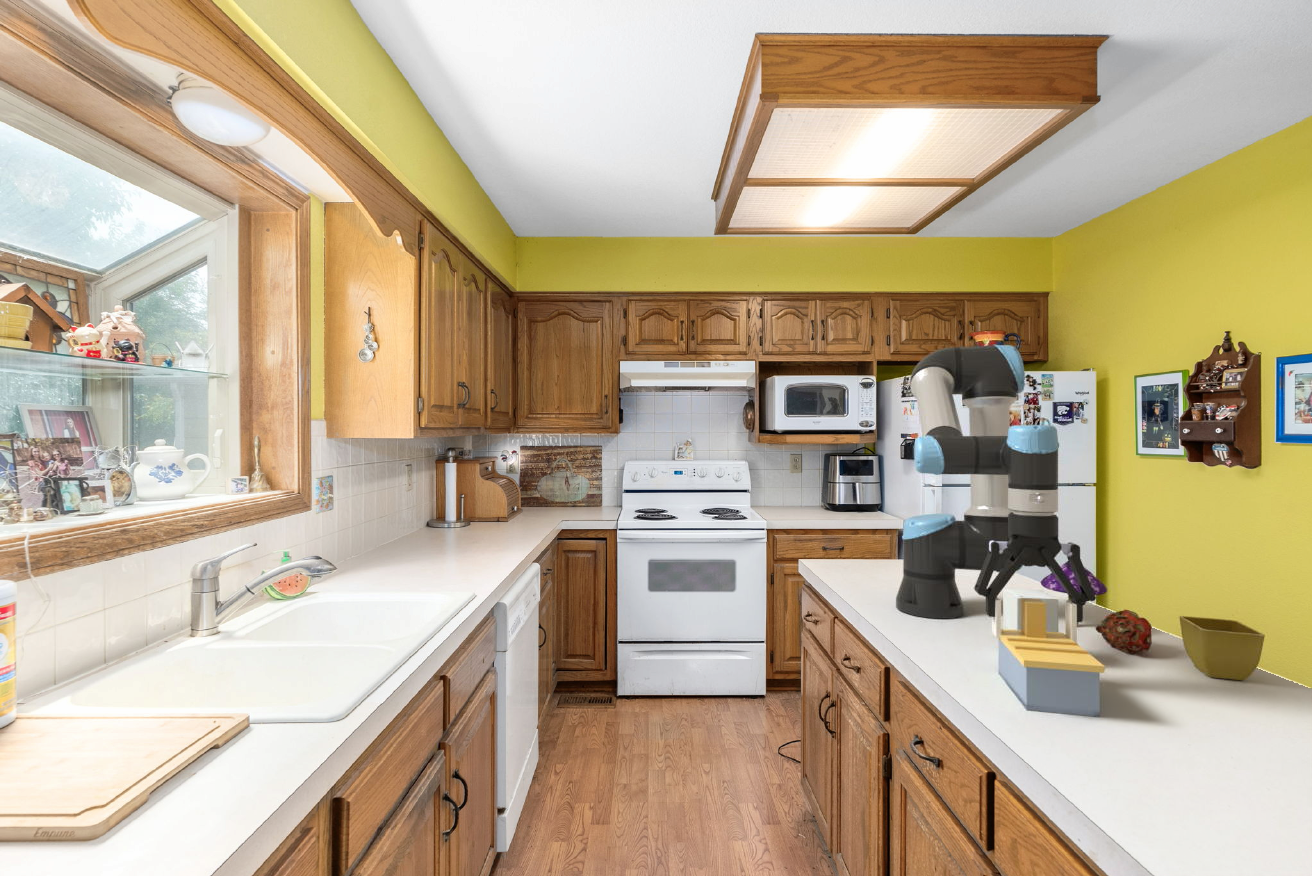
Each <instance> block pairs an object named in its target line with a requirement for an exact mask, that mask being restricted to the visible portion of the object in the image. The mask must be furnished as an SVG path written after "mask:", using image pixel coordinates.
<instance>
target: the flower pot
mask: <svg viewBox="0 0 1312 876" xmlns="http://www.w3.org/2000/svg"><path fill="white" fill-rule="evenodd" d="M1178 617H1179V623H1180V631H1181V638H1182V643H1183V647H1184V649H1185V652H1186V654H1187V655H1188V658H1189V659H1190V661H1191V662H1192V664H1193V665H1194V667H1195V668H1196V669H1198V670H1199V671H1201V672H1202V673H1204V675H1206V676H1208V677H1210V678H1216V679H1217V678H1219V679H1226V680H1227V679H1228V680H1233V681H1234V680H1235V681H1245V680H1247V678H1249V677H1250V676H1251V675H1252V674H1253V673H1254V672H1255V670H1256V669H1257V668H1258V665H1259V663H1260V660H1261V656H1262V651H1263V648H1264V647H1263V646H1264V641H1265V636H1266V635H1265V634H1263V632H1260V631H1258V630H1256V629H1254V628H1252V627H1250V626H1248V625H1246V624H1244V623H1242V622H1240V621H1238V620H1235V619H1224V618H1212V617H1199V616H1198V617H1197V616H1189V615H1188V616H1185V615H1179V616H1178Z"/></svg>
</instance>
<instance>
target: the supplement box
mask: <svg viewBox="0 0 1312 876" xmlns="http://www.w3.org/2000/svg"><path fill="white" fill-rule="evenodd" d="M1021 598H1027V599H1040V600H1041V601H1043V602H1044V603H1045V604H1046V632H1059V598H1057V597H1055V596H1053V595H1051V594H1049V593H1048V592H1046V591H1045V590H1043V589H1026V588H1025V589H1023V588H1022V589H1021V588H1003V589H1002V601H1003V602H1002V608H1003V609H1002V614H1003V617H1002V618H1003V620H1002V621H1003V623H1002V624H1003V625H1002V626H1003V628H1002V629H1013V630H1021Z"/></svg>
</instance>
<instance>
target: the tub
mask: <svg viewBox="0 0 1312 876" xmlns="http://www.w3.org/2000/svg"><path fill="white" fill-rule="evenodd" d="M997 638H998V637H997ZM997 647H998V675H999V676H1000V678H1002V680H1003V681H1004V682H1005V684H1006V685H1007V687H1008V688H1009V689H1010V690H1011V692H1012V693H1013V694H1014V696H1015V698H1017V700H1018V701H1019V702H1020V704H1021V705H1022V706H1023V708H1025V710H1026V711H1033V712H1044V713H1054V714H1055V713H1056V714H1064V715H1065V714H1066V715H1075V716H1085V717H1098V718H1100V717H1101V715H1100V713H1101V711H1100V708H1101V706H1100V705H1101V703H1100V700H1101V699H1100V697H1101V696H1100V694H1101V693H1100V691H1101V690H1100V688H1101V687H1100V684H1101V683H1100V676H1101V675H1100V674H1101V673H1100V672H1087V671H1074V670H1061V669H1048V668H1036V667H1024V666H1023V665H1022V664H1021V663H1020V662H1019V661H1018V659H1017V658H1016V657H1015V656H1014V655H1013V654H1012V653H1011V652H1010V650H1009V649H1008V648H1007V647H1006V646H1005V645H1004V644H1003V643H1002V642H1001V640H1000V639H999V638H998V646H997Z"/></svg>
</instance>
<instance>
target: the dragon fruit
mask: <svg viewBox="0 0 1312 876" xmlns="http://www.w3.org/2000/svg"><path fill="white" fill-rule="evenodd" d="M1152 627H1153V626H1152V625H1151V623H1150V621H1148V619H1146V618H1145V617H1141V616H1139V614H1138V613H1137V612H1135V611H1132V610H1129V609H1123V610H1117V611H1115V612H1112V613H1111V612H1110V614H1108V615H1106V616H1105V618H1104V619H1103V620H1102V621H1100V624H1097V625H1096V626H1095V630H1096V632H1097V633H1098V634H1100V635H1101V636H1102V638H1103V640H1104V641H1105V643H1107V644H1108V645H1110V647H1111V648H1115V649H1118V650H1120V651H1121V652H1125V653H1128V654H1133V653H1136V651H1140V652H1144V651H1145V652H1147V651H1149V650H1150V649H1151V646H1152V641H1153V639H1152V638H1153V637H1152V636H1153V635H1152Z"/></svg>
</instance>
